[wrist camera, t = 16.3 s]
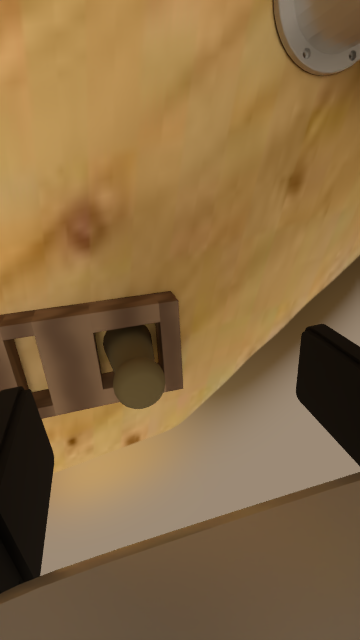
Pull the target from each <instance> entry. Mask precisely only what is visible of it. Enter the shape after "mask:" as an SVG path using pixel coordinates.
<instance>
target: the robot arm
mask: <svg viewBox="0 0 360 640" xmlns="http://www.w3.org/2000/svg"><path fill="white" fill-rule="evenodd" d="M274 15H275V20H276V26H277V30H278V33H279V36H280V39H281V42H282V44H283V46H284V48H285V50H286V51H287V53H288V55H289V56H290V57H291V59H292V60H293V61H294V62H295V63H296V64H297V65H298V66H299V67H301V68H302V69H303V70H305V71H307V72H309V73H311V74H315V75H321V76H324V75H332V74H335V73H338V72H340V71H343V70H345V69H347V68H348V67H350V66H352V65H353V64H355V63H356V62H357V61H358V60H360V0H274ZM296 395H297V397H298V399H299V401H300V402H301V403H302V404H303V405H304V406H305V407H306V408H307V409H308V410H309V412H310V413H311V414H312V415H313V416H314V417H315V418H316V419H317V420H318V421H319V422H320V424H321V425H322V426H323V427H324V428H325V429H326V430H327V431H328V432H329V433H330V434H331V435H332V437H333V438H334V439H335V440H336V441H337V442H338V443H339V444H340V445H341V446H342V447H343V448H344V449H345V451H346V452H347V453H348V454H349V455H350V456H351V457H352V458H353V459H354V460H355V461H356V463H358V465H359V466H360V347H359V346H358V345H356V344H354V343H353V342H351V341H350V340H348V339H347V338H345V337H344V336H342V335H341V334H339V333H337V332H336V331H334V330H333V329H331V328H330V327H328V326H326V325H324V324H319V325H314V326H309V327H307V328H306V330H305V332H303V333H302V336H301V346H300V355H299V365H298V376H297V385H296ZM53 468H54V454H53V450H52V448H51V445H50V442H49V439H48V436H47V434H46V431H45V428H44V425H43V422H42V420H41V417H40V414H39V411H38V408H37V406H36V403H35V400H34V397H33V394H32V392H31V390H30V389H27V390H24V388H23V387H22V386H19V387H14V388H9V389H4V390H1V391H0V640H360V472H358V473H355V474H352V475H349V476H346V477H343V478H339V479H336V480H333V481H329V482H326V483H323V484H320V485H317V486H313V487H310V488H307V489H304V490H301V491H298V492H294V493H291V494H288V495H285V496H282V497H279V498H275V499H272V500H269V501H266V502H263V503H259V504H256V505H253V506H250V507H247V508H244V509H241V510H237V511H234V512H231V513H228V514H225V515H222V516H219V517H215V518H213V519H209V520H206V521H203V522H200V523H197V524H194V525H191V526H188V527H185V528H181V529H178V530H175V531H172V532H169V533H166V534H163V535H160V536H157V537H154V538H151V539H147V540H144V541H141V542H138V543H135V544H132V545H129V546H126V547H123V548H120V549H117V550H114V551H111V552H108V553H105V554H102V555H99V556H96V557H93V558H90V559H88V560H84V561H81V562H79V563H76V564H73V565H70V566H67V567H64V568H61V569H58V570H55V571H53V572H50V573H48V574H45V575H43V576H40V572H41V564H42V556H43V548H44V540H45V532H46V524H47V516H48V508H49V500H50V492H51V483H52V476H53Z"/></svg>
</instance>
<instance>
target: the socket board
mask: <svg viewBox="0 0 360 640" xmlns="http://www.w3.org/2000/svg"><path fill="white" fill-rule="evenodd" d="M150 323H155V326H156V337H157V348H158V359H159V363H157V364H158V365H159V366H160V367H161V369H162V370H163V372H164V375H165V389H164V392H168V391H173V390H178V389H182V388H183V376H182V358H181V340H180V322H179V305H178V300H177V298H176V297H175V296H174V295H173V294H172V292H171V291H168V292H161V293H154V294H147V295H140V296H133V297H125V298H118V299H111V300H104V301H97V302H90V303H83V304H75V305H68V306H61V307H54V308H47V309H40V310H33V311H25V312H18V313H11V314H4V315H0V391H1V390H4V389H9V388H14V387H19V386H22V387H23V388H24V390H27V389H28V385H27V382H26V379H25V375H24V372H23V369H22V365H21V362H20V359H19V355H18V352H17V349H16V345H15V342H14V339H16V338H22V337H28V336H35V339H36V343H37V346H38V350H39V354H40V358H41V361H42V365H43V369H44V373H45V376H46V380H47V384H48V388H49V389H47V390H42V391H37V392H32V394H33V397H34V400H35V403H36V406H37V408H38V411H39V414H40V417H41V419H42V418H47V417H52V416H56V415H61V414H66V413H70V412H75V411H80V410H84V409H89V408H94V407H98V406H103V405H108V404H112V403H117V402H120V401H119V400H118V398H117V397H116V395H115V393H114V389H113V379H114V375H115V373H114V372H108V373H103V374H102V373H101V368H100V362H99V357H98V351H97V346H96V340H95V335H94V333H95V332H101V331H107V330H113V329H119V328H126V327H132V326H138V325H144V324H150ZM164 392H163V393H164Z"/></svg>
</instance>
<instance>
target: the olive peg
mask: <svg viewBox="0 0 360 640" xmlns="http://www.w3.org/2000/svg"><path fill="white" fill-rule="evenodd" d="M103 346H104V350H105V352H106V355H107V357H108V359H109V361H110V364H111V366H112V368H113V370H114V373H115V375H114V379H113V389H114V393H115V395H116V397H117V398H118V400H119V401H120V402H121V403H122V404H124V405H125V406H127V407H130V408H134V409H143V408H146V407H149V406H151V405H153V404H154V403H156V402H157V401H158V400H159V399H160V397H161V395H162V394H163V392H164V389H165V375H164V372H163V370H162V369H161V367H160V366H159V365H158V364H157V363H156V362H155V360H154V354H153V347H152V340H151V334H150V332H149V330H148V328H147V327H146V326H145V325H138V326H132V327H126V328H119V329H113V330H107V332H106V334H105V336H104V340H103Z"/></svg>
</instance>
